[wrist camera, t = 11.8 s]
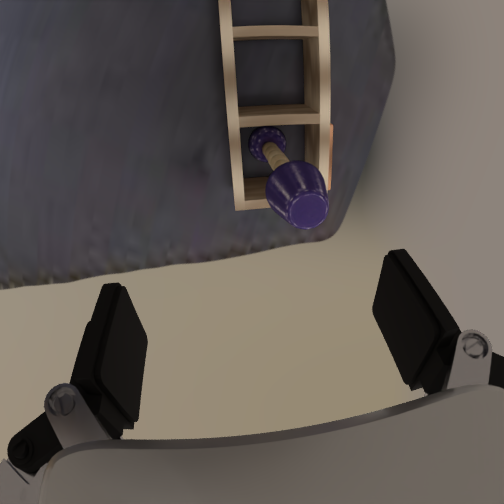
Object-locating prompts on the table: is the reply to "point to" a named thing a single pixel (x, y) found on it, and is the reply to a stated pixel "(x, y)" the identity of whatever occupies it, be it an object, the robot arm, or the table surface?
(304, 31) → the rack
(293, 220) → the toy lamp
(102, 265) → the table surface
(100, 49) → the table surface
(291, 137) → the table surface
